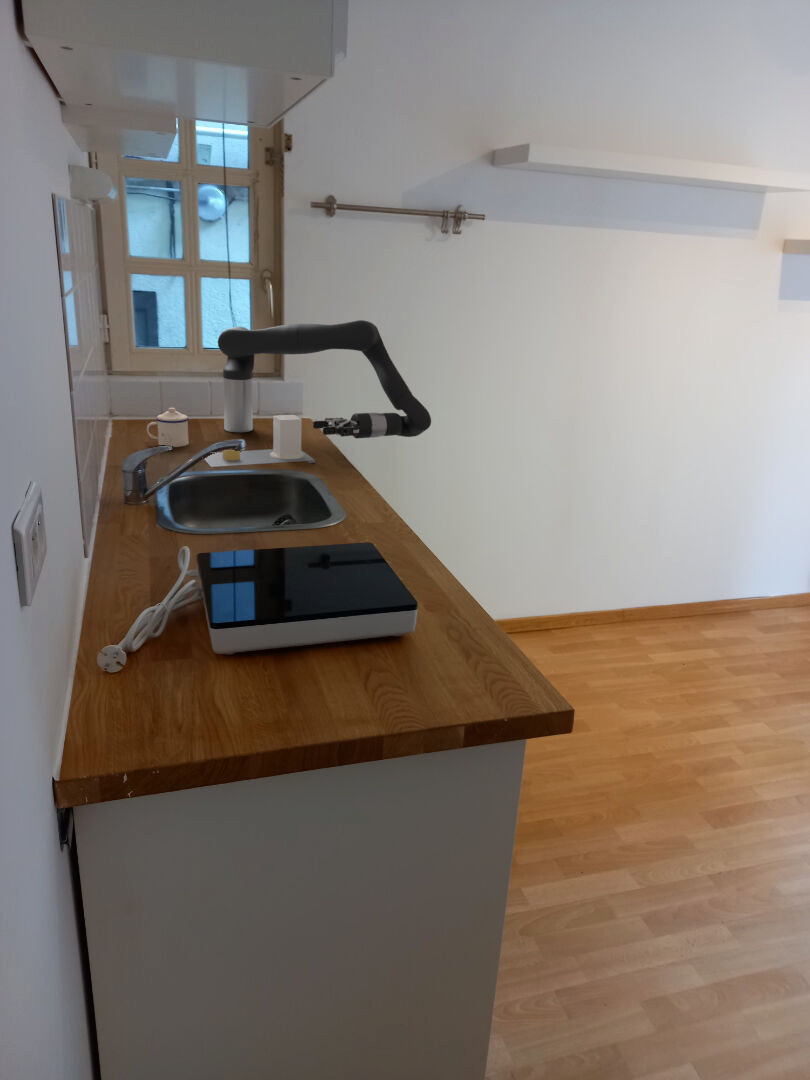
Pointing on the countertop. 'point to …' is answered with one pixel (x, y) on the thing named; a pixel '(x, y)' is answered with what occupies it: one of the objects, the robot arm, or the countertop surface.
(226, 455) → the block
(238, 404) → the robot arm
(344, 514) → the countertop surface
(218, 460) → the board
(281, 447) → the white tall block
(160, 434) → the teacup with lid
